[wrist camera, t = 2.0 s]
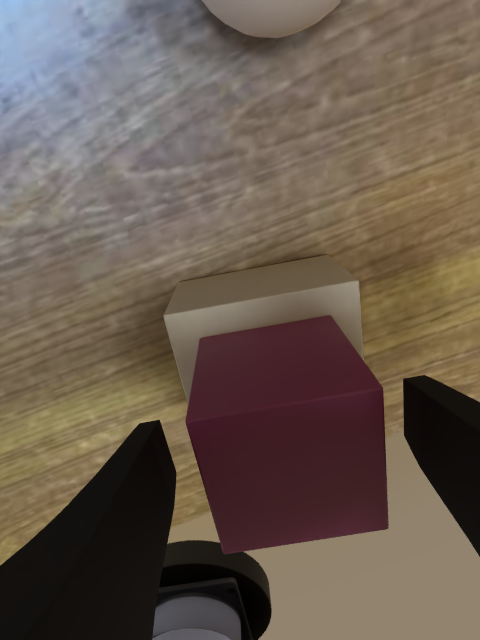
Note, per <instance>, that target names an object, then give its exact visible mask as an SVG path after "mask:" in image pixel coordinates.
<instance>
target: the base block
mask: <svg viewBox="0 0 480 640" xmlns="http://www.w3.org/2000/svg"><path fill="white" fill-rule="evenodd" d="M328 315H331V316H332V317H333V319H334V320H335V322H336V323H337V324H338V326H339V327H340V329H341V330H342V331H343V333H344V334H345V336H346V337H347V338H348V340H349V341H350V343H351V344H352V345H353V347H354V348H355V350H356V351H357V352H358V354H359V355H360V357H361V358H362V359H363V361H364V357H363V340H362V324H361V307H360V291H359V281H358V280H357V279H356V278H355V277H354V276H353V275H352V274H350V273H349V272H348V271H347V270H346V269H344V268H343V267H342V266H341V265H340V264H338V263H337V262H336V261H335V260H334V259H332V258H331V257H330V256H329V255H323V256H318V257H312V258H307V259H301V260H296V261H290V262H285V263H280V264H274V265H269V266H263V267H258V268H252V269H247V270H242V271H236V272H231V273H225V274H220V275H214V276H209V277H203V278H198V279H193V280H187V281H182V282H178V284H177V286H176V289H175V291H174V293H173V295H172V297H171V300H170V302H169V304H168V306H167V309H166V311H165V313H164V315H163V317H164V321H165V325H166V328H167V332H168V335H169V339H170V343H171V346H172V350H173V353H174V357H175V360H176V364H177V368H178V371H179V375H180V378H181V382H182V386H183V389H184V393H185V396H186V400H187V403H188V404H189V398H190V392H191V386H192V380H193V375H194V369H195V363H196V357H197V351H198V345H199V339H200V338H204V337H210V336H215V335H221V334H227V333H232V332H238V331H244V330H249V329H255V328H260V327H266V326H272V325H277V324H283V323H289V322H294V321H300V320H306V319H311V318H317V317H322V316H328Z"/></svg>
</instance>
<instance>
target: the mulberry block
mask: <svg viewBox="0 0 480 640" xmlns="http://www.w3.org/2000/svg"><path fill="white" fill-rule="evenodd" d="M186 425H187V429H188V432H189V436H190V439H191V443H192V446H193V450H194V453H195V457H196V460H197V464H198V467H199V471H200V474H201V477H202V481H203V484H204V488H205V491H206V495H207V498H208V502H209V505H210V509H211V512H212V516H213V519H214V523H215V526H216V529H217V533H218V536H219V540H220V543H221V547H222V550H223V553H224V554H229V553H236V552H242V551H249V550H255V549H262V548H268V547H275V546H281V545H288V544H294V543H301V542H307V541H313V540H320V539H327V538H333V537H340V536H346V535H353V534H359V533H365V532H372V531H378V530H385V529H388V502H387V476H386V450H385V425H384V399H383V387H382V386H381V384H380V383H379V382H378V380H377V379H376V377H375V376H374V375H373V373H372V372H371V371H370V369H369V368H368V366H367V365H366V364H365V362H364V361H363V359H362V358H361V357H360V355H359V354H358V352H357V351H356V350H355V348H354V347H353V345H352V344H351V343H350V341H349V340H348V338H347V337H346V336H345V334H344V333H343V331H342V330H341V329H340V327H339V326H338V324H337V323H336V322H335V320H334V319H333V317H332V316H331V315H328V316H322V317H317V318H311V319H306V320H300V321H294V322H289V323H283V324H277V325H272V326H266V327H260V328H255V329H249V330H244V331H238V332H232V333H227V334H221V335H215V336H210V337H204V338H200V339H199V345H198V351H197V357H196V363H195V369H194V375H193V380H192V386H191V392H190V398H189V404H188V410H187V416H186Z"/></svg>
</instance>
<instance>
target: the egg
mask: <svg viewBox="0 0 480 640" xmlns="http://www.w3.org/2000/svg"><path fill="white" fill-rule="evenodd" d="M202 1H203V2H204V4H205V5H206V6H207V8H208V9H209V10H210V12H211V13H213V14H214V15H215V16H216V17H217V18H219V19H220V20H221V21H222V22H223V23H225V24H227V25H228V26H230V27H232V28H234V29H236V30H238V31H240V32H242V33H243V34H245V35H250V36H255V37H266V38H280V37H284V36H288V35H292V34H295V33H298V32H301V31H303V30H304V29H306V28H308V27H310V26H312V25H314V24H316V23H318V22H319V21H320V20H321V19H322V18H324V17H325V16H326V15H327V14H329V13H330V12H331V11H332V10H334V9H335V8H336V7H337V6H338V4H339V3H340V2H341V1H342V0H202Z"/></svg>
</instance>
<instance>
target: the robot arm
mask: <svg viewBox="0 0 480 640" xmlns="http://www.w3.org/2000/svg"><path fill="white" fill-rule="evenodd" d="M403 393H404V436H405V438H406V440H407V442H408V444H409V446H410V448H411V451H412V453H413V454H414V456H415V458H416V460H417V462H418V464H419V466H420V468H421V469H422V471H423V472H424V474H425V475H426V477H427V478H428V480H429V481H430V483H431V484H432V486H433V487H434V489H435V490H436V492H437V493H438V495H439V496H440V498H441V499H442V501H443V502H444V504H445V505H446V507H447V508H448V509H449V511H450V512H451V514H452V515H453V517H454V518H455V520H456V521H457V523H458V524H459V526H460V527H461V529H462V530H463V532H464V533H465V534H466V536H467V537H468V539H469V541H470V542H471V544H472V545H473V547H474V548H475V550H476V552H477V553H478V555H479V556H480V402H478V401H476V400H474V399H472V398H470V397H468V396H466V395H464V394H462V393H460V392H458V391H456V390H454V389H452V388H451V387H449V386H447V385H445V384H443V383H441V382H438V381H436V380H434V379H432V378H430V377H428V376H425V375H423V376H417V377H411V378H405V379H403ZM175 489H176V470H175V466H174V463H173V460H172V457H171V454H170V451H169V448H168V445H167V441H166V438H165V435H164V432H163V429H162V426H161V423H160V420H156V421H150V422H145V423H140V424H139V425H138V426H137V427H136V428H135V429H134V430H133V431H132V433H131V434H130V435H129V436H128V437H127V439H126V440H125V441H124V442H123V443H122V445H121V446H120V447H119V448H118V449H117V451H116V452H115V453H114V454H113V455H112V456H111V458H110V459H109V460H108V461H107V462H106V463H105V465H104V466H103V467H102V468H101V469H100V471H99V472H98V473H97V474H96V475H95V476H94V477H93V478H92V479H91V481H90V482H89V483H88V484H87V485H86V486H85V487H84V488H83V489H82V490H81V491H80V492H79V493H78V495H77V496H76V497H75V498H74V499H73V500H72V501H71V502H70V503H69V504H68V505H67V506H66V507H65V508H64V509H63V510H62V511H61V512H60V513H59V514H58V515H57V516H56V517H55V518H54V519H53V520H52V521H51V522H50V523H49V524H48V525H47V526H46V527H45V528H43V529H42V530H41V531H40V532H39V533H38V534H37V535H36V536H35V537H34V538H33V539H31V540H30V541H29V542H28V543H27V544H26V545H25V546H23V547H22V548H21V549H20V550H19V551H17V552H16V553H15V554H14V555H13V556H11V557H10V558H9V559H8V560H7V561H5V562H4V563H3V564H2V565H1V566H0V640H253V638H252V634H251V631H250V627H249V623H248V620H247V616H246V613H245V609H244V605H243V602H242V598H241V595H240V591H239V588H238V584H237V581H236V579H235V578H233V577H226V578H220V579H213V580H206V581H200V582H193V583H186V584H180V585H173V586H167V587H160V588H159V583H160V578H161V573H162V568H163V563H164V557H165V552H166V547H167V542H168V536H169V532H170V526H171V521H172V516H173V510H174V502H175Z"/></svg>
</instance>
